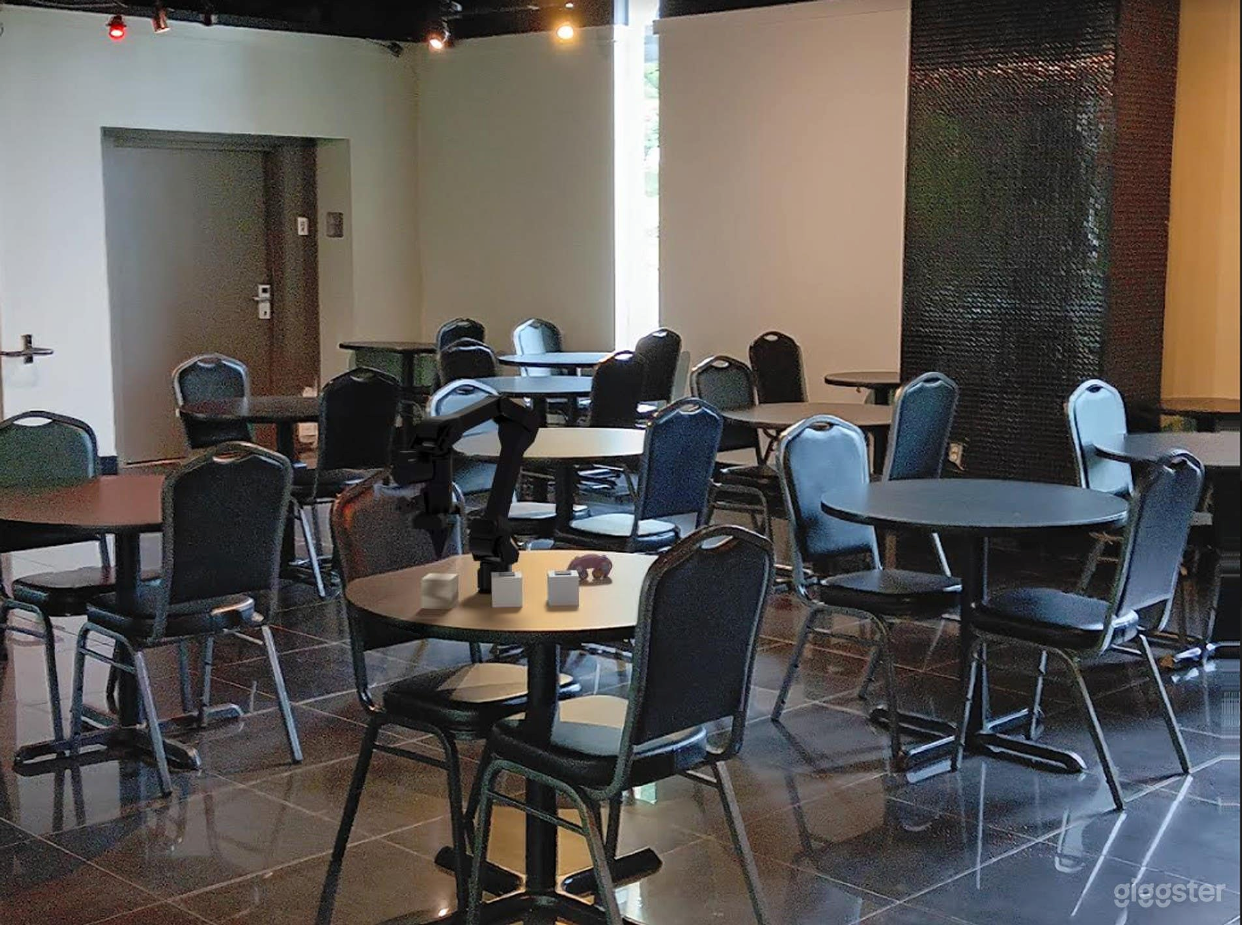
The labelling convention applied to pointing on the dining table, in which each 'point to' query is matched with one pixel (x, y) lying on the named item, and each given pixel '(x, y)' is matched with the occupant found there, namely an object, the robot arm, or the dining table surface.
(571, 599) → the grey numbered cube
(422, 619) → the dining table surface
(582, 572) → the video game controller
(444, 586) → the plain ash cube
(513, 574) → the off-white numbered cube
